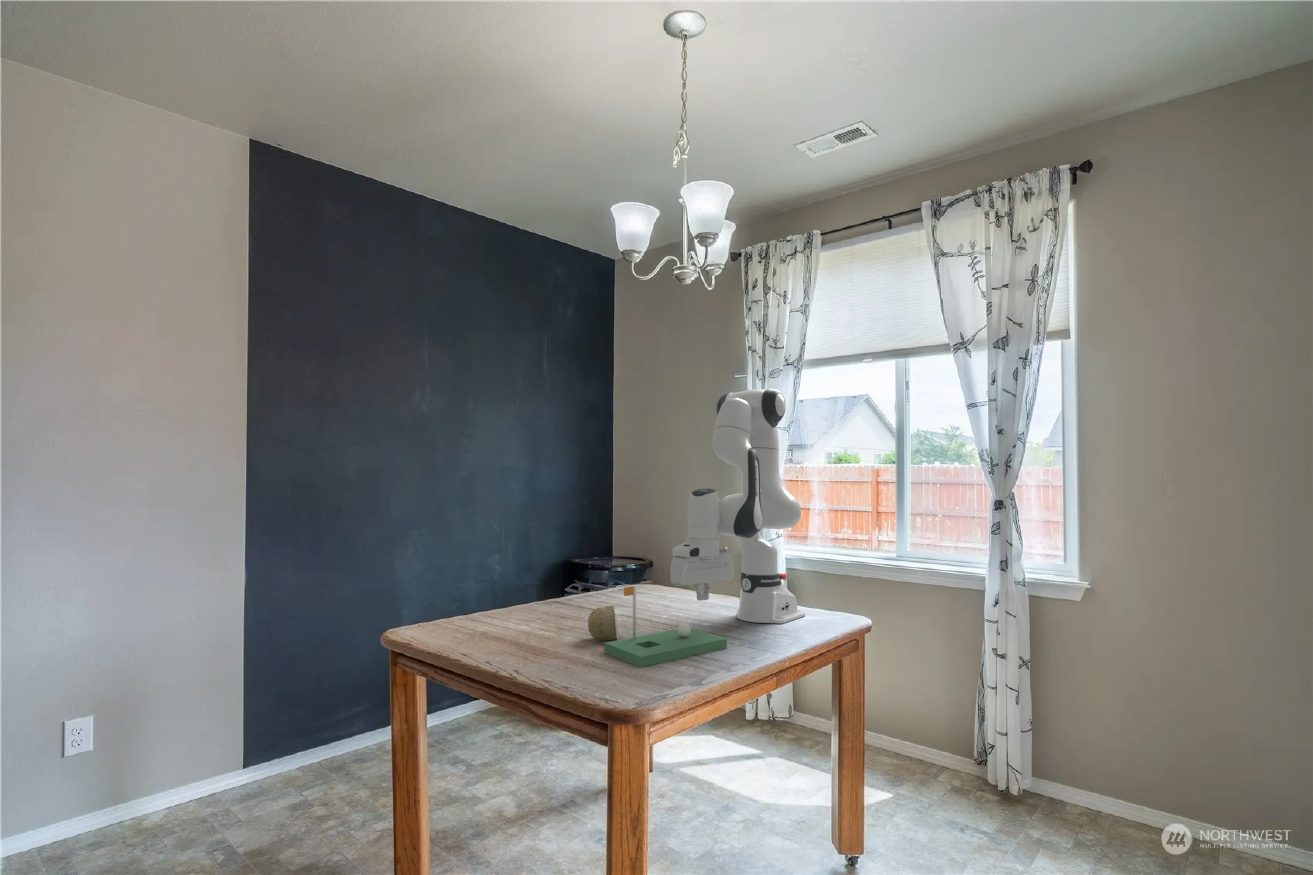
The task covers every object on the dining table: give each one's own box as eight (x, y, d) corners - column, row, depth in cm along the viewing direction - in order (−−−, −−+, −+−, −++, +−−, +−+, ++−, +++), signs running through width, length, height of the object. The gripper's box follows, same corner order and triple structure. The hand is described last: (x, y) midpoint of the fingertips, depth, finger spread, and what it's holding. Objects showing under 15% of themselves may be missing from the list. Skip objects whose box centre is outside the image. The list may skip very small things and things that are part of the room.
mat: (687, 635, 194) (687, 576, 195) (726, 648, 182) (726, 585, 182) (604, 652, 177) (604, 588, 178) (641, 667, 165) (641, 597, 165)
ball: (685, 634, 186) (685, 621, 186) (693, 637, 183) (693, 623, 183) (674, 636, 184) (674, 623, 184) (683, 639, 181) (683, 625, 181)
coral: (628, 618, 185) (594, 603, 185) (613, 652, 186) (579, 637, 186) (630, 608, 195) (598, 594, 195) (616, 640, 196) (584, 626, 196)
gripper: (723, 545, 197) (723, 594, 196) (667, 549, 185) (666, 601, 184) (738, 547, 192) (738, 597, 191) (682, 551, 180) (681, 605, 179)
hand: (702, 599), depth 187 cm, fingers closed
